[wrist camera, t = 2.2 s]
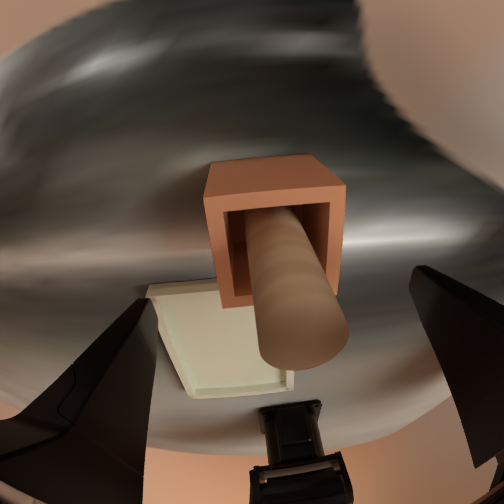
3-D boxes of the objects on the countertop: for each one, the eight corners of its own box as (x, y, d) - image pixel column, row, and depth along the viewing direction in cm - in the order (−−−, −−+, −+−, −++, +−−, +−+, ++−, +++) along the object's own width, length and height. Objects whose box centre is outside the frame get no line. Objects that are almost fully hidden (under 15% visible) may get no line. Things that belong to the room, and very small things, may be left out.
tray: (290, 379, 24) (293, 390, 23) (190, 387, 24) (190, 398, 23) (293, 269, 18) (297, 281, 17) (149, 284, 17) (145, 296, 16)
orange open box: (310, 239, 17) (336, 294, 12) (223, 248, 17) (222, 308, 12) (310, 154, 14) (346, 185, 10) (211, 162, 14) (202, 197, 10)
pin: (289, 225, 16) (342, 362, 8) (244, 229, 15) (261, 375, 8) (288, 182, 14) (355, 303, 7) (240, 187, 14) (255, 317, 7)
